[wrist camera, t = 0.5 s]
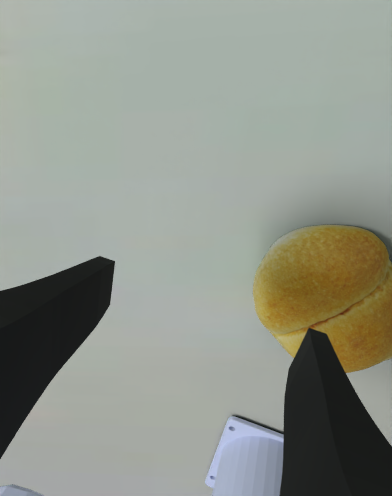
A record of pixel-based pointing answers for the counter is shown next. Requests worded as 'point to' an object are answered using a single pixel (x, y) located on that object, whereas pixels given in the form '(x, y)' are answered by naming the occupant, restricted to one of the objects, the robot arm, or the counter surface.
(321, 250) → the bread roll
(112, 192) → the counter surface
